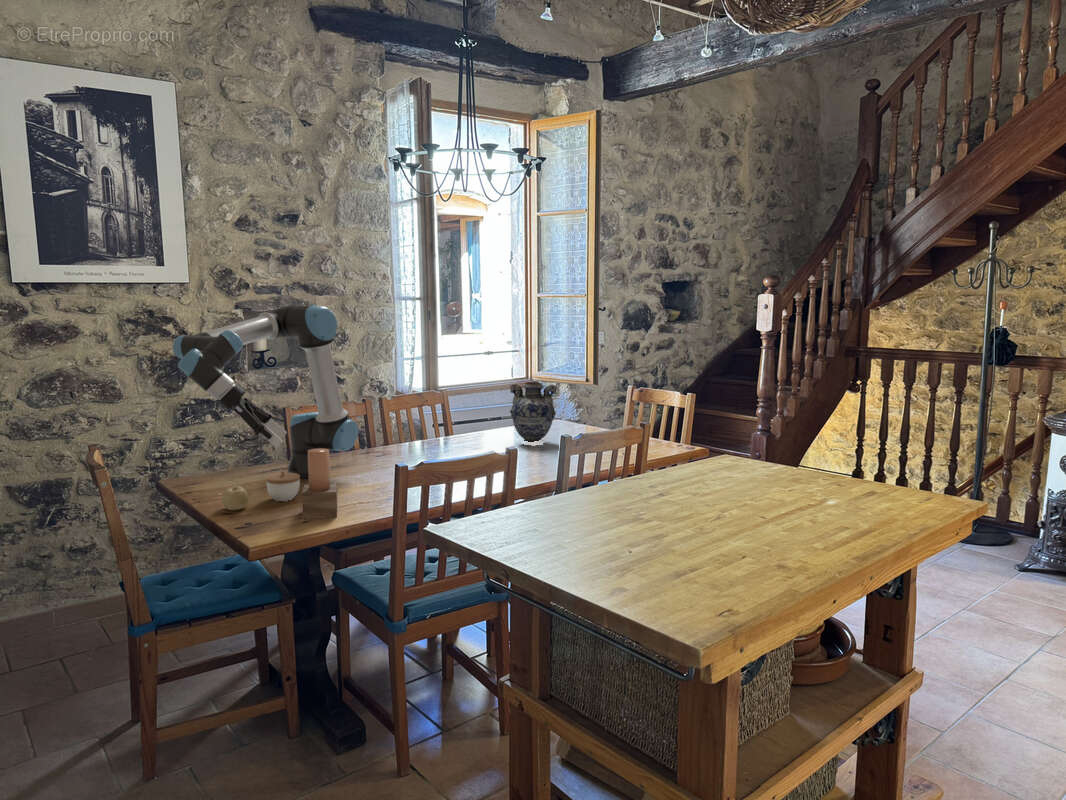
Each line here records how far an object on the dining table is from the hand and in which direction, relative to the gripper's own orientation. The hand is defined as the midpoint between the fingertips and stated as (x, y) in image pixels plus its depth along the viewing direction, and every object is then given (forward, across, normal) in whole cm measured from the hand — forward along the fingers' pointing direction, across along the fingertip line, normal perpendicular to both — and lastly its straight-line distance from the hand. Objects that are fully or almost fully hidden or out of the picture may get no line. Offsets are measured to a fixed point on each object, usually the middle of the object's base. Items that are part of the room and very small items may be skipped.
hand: (282, 440), depth 229 cm
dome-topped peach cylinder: (+18, 0, -4) cm, 19 cm away
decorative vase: (+88, -90, +54) cm, 137 cm away
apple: (+6, -11, -28) cm, 31 cm away
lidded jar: (+16, -19, -18) cm, 31 cm away
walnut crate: (+24, 0, -9) cm, 26 cm away
